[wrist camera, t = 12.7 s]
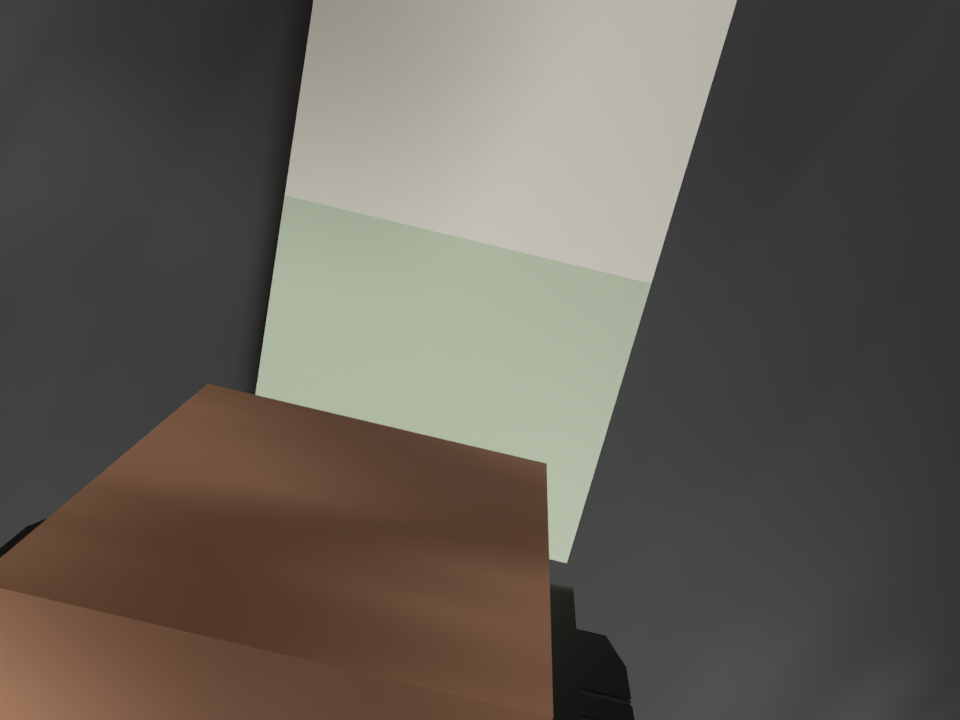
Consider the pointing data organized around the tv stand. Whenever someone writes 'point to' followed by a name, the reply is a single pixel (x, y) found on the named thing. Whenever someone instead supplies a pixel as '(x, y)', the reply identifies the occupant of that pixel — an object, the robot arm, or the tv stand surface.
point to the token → (284, 577)
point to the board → (484, 217)
